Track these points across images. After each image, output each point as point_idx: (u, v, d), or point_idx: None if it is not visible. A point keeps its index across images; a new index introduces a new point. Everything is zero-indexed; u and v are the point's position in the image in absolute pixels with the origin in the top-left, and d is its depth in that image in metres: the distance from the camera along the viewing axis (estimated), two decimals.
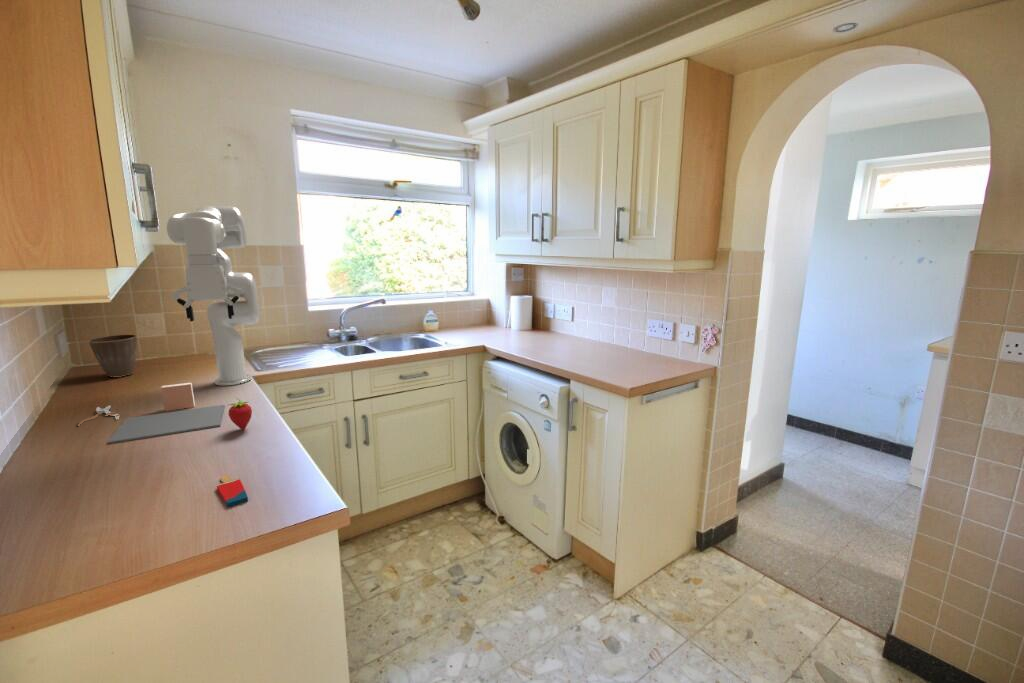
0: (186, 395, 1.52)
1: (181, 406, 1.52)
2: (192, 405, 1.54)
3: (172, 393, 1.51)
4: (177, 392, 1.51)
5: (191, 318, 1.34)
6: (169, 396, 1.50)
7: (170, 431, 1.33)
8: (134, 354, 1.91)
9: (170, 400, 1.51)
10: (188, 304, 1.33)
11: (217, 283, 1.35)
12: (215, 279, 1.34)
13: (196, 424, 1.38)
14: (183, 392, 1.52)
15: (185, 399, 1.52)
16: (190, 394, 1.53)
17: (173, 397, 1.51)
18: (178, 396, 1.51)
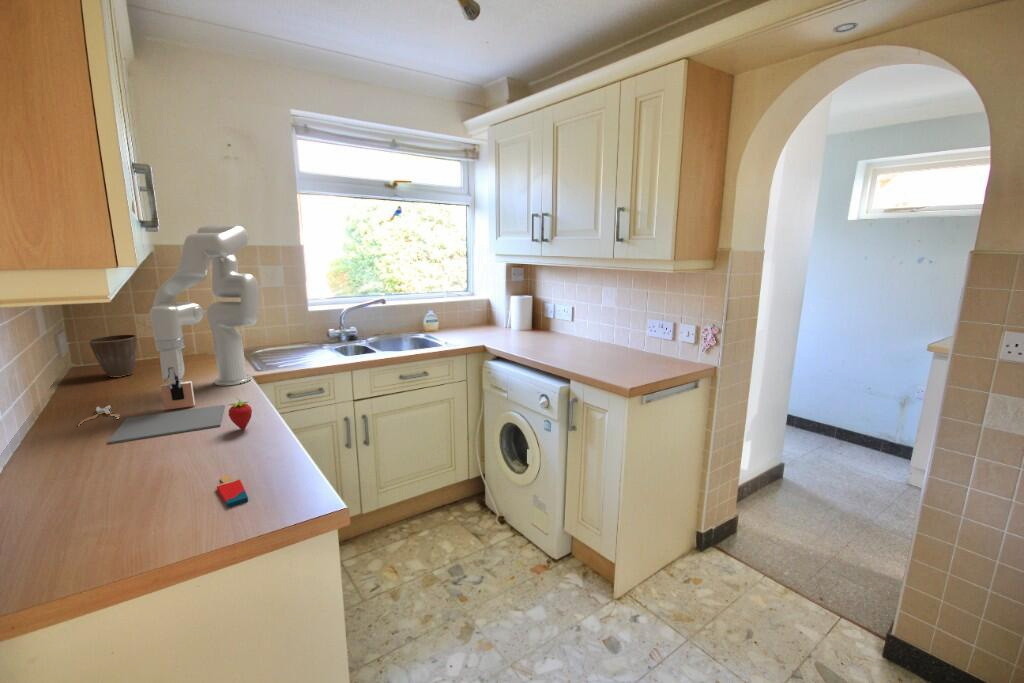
0: (186, 394, 1.52)
1: (181, 405, 1.52)
2: (192, 404, 1.54)
3: None
4: None
5: (183, 396, 1.52)
6: (169, 394, 1.50)
7: (170, 431, 1.33)
8: (134, 354, 1.91)
9: (170, 398, 1.51)
10: (180, 384, 1.51)
11: None
12: (182, 357, 1.53)
13: (196, 424, 1.38)
14: (183, 391, 1.52)
15: (184, 398, 1.53)
16: (190, 393, 1.53)
17: None
18: None
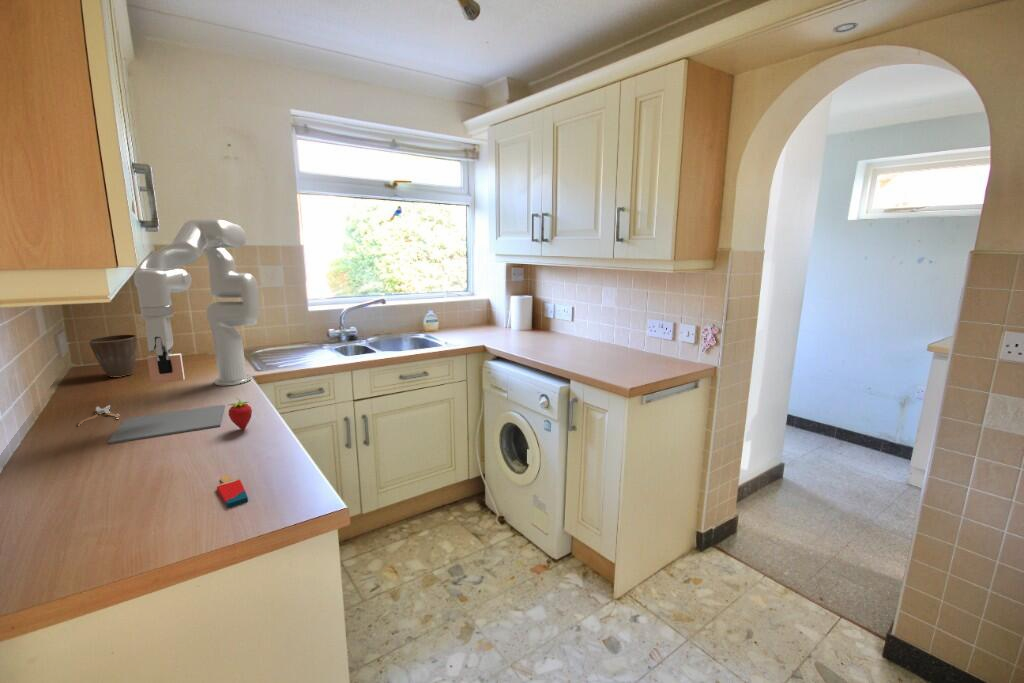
0: (175, 367, 1.40)
1: (169, 379, 1.40)
2: (181, 378, 1.42)
3: None
4: None
5: None
6: (156, 367, 1.38)
7: (170, 431, 1.33)
8: (134, 354, 1.91)
9: (157, 371, 1.39)
10: (168, 356, 1.39)
11: (171, 331, 1.42)
12: None
13: (196, 424, 1.38)
14: (172, 363, 1.40)
15: (173, 371, 1.40)
16: (179, 366, 1.41)
17: None
18: None
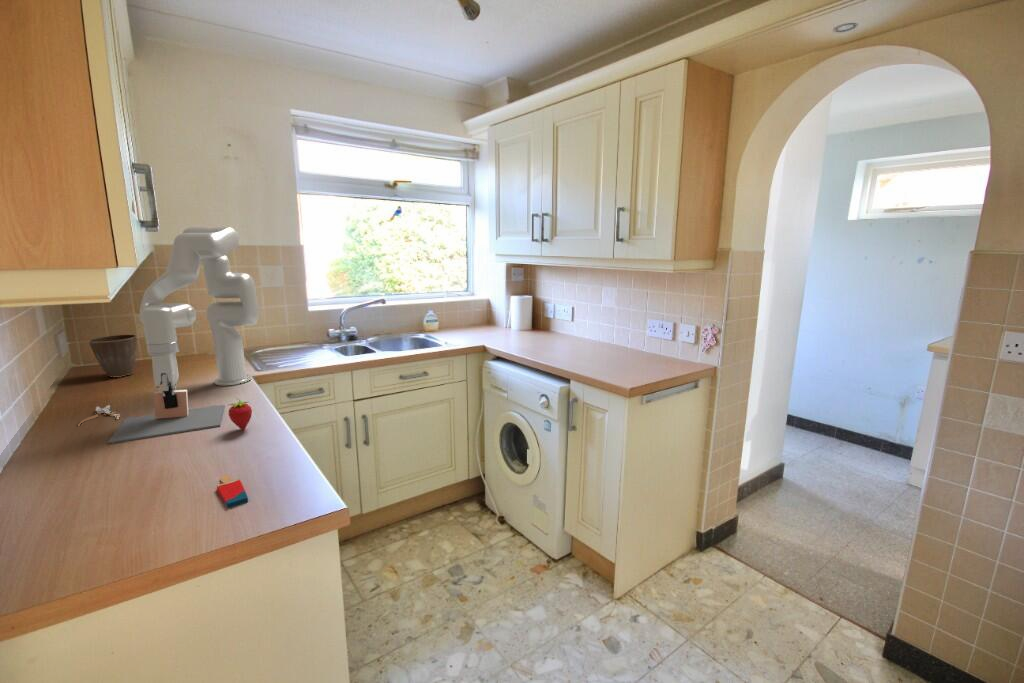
0: (180, 403, 1.43)
1: (173, 414, 1.42)
2: (185, 414, 1.44)
3: None
4: None
5: (177, 404, 1.42)
6: (162, 403, 1.41)
7: (170, 431, 1.33)
8: (134, 354, 1.91)
9: (162, 407, 1.41)
10: (174, 391, 1.41)
11: None
12: (176, 362, 1.43)
13: (196, 424, 1.38)
14: (177, 399, 1.42)
15: (178, 407, 1.43)
16: (184, 402, 1.43)
17: None
18: None
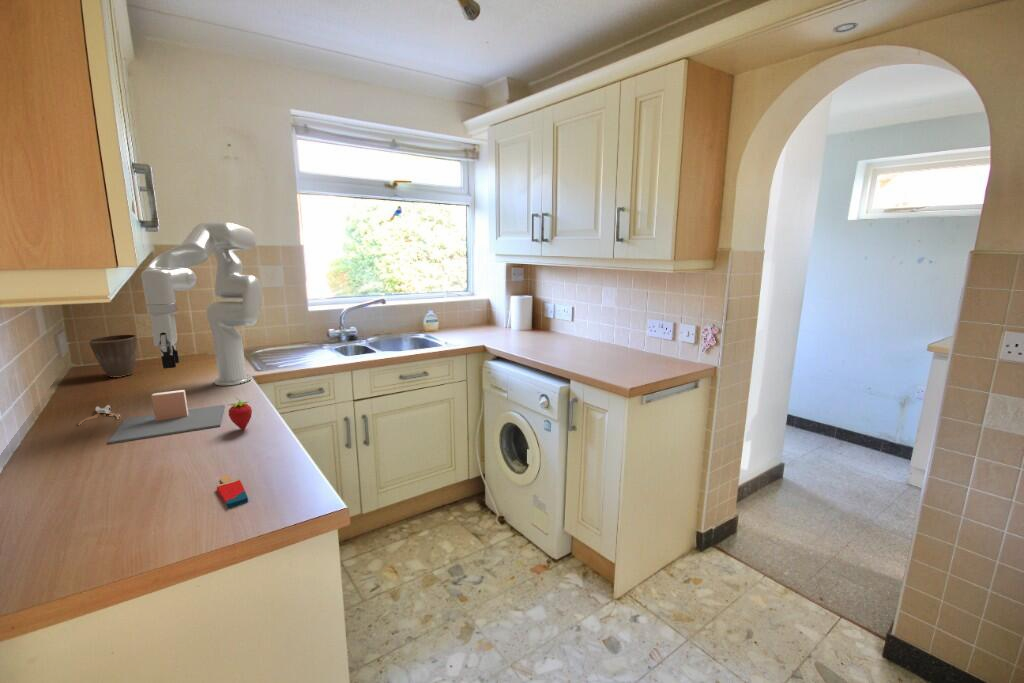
0: (179, 403, 1.43)
1: (173, 415, 1.43)
2: (185, 414, 1.44)
3: (164, 401, 1.41)
4: (169, 400, 1.41)
5: (175, 364, 1.45)
6: (160, 404, 1.40)
7: (170, 431, 1.33)
8: (134, 354, 1.91)
9: (161, 409, 1.41)
10: (172, 351, 1.44)
11: None
12: (175, 323, 1.48)
13: (196, 424, 1.38)
14: (175, 400, 1.42)
15: (177, 408, 1.43)
16: (183, 402, 1.43)
17: (165, 405, 1.41)
18: (170, 404, 1.42)
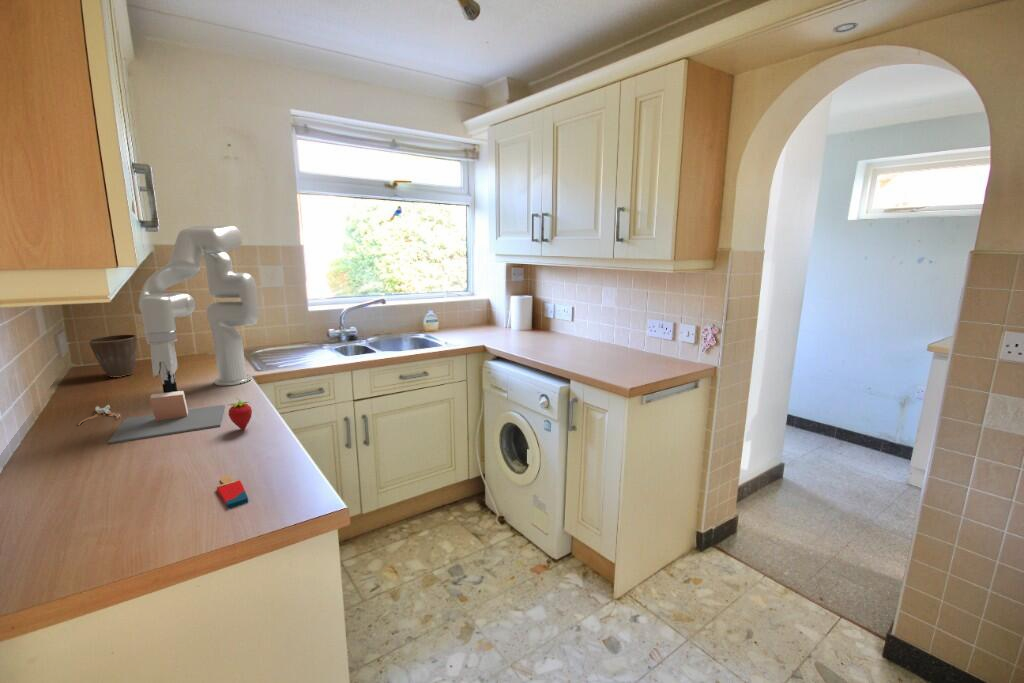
0: (178, 405, 1.42)
1: (173, 416, 1.42)
2: (185, 414, 1.44)
3: (163, 403, 1.39)
4: (168, 402, 1.40)
5: None
6: (160, 406, 1.39)
7: (170, 431, 1.33)
8: (134, 354, 1.91)
9: (161, 410, 1.40)
10: (173, 379, 1.42)
11: (175, 354, 1.44)
12: (175, 351, 1.43)
13: (196, 424, 1.38)
14: (175, 402, 1.41)
15: (177, 409, 1.42)
16: (182, 404, 1.42)
17: (164, 407, 1.40)
18: (169, 406, 1.41)
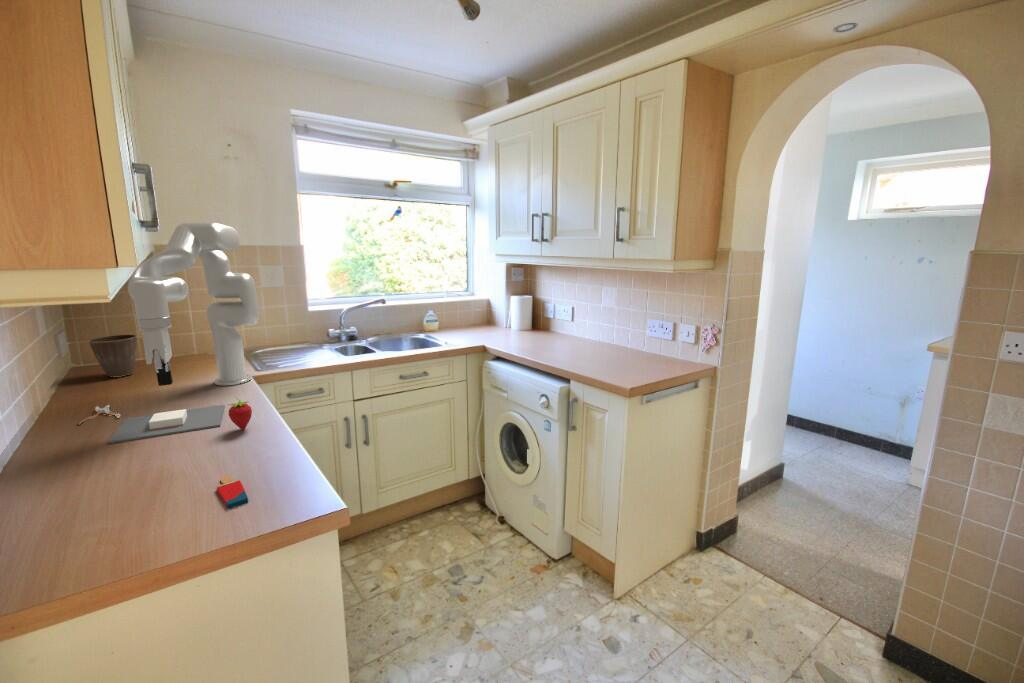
0: None
1: None
2: None
3: None
4: None
5: (171, 380, 1.37)
6: None
7: (170, 431, 1.33)
8: (134, 354, 1.91)
9: None
10: (168, 368, 1.35)
11: None
12: (169, 338, 1.37)
13: (196, 424, 1.38)
14: None
15: None
16: None
17: None
18: None
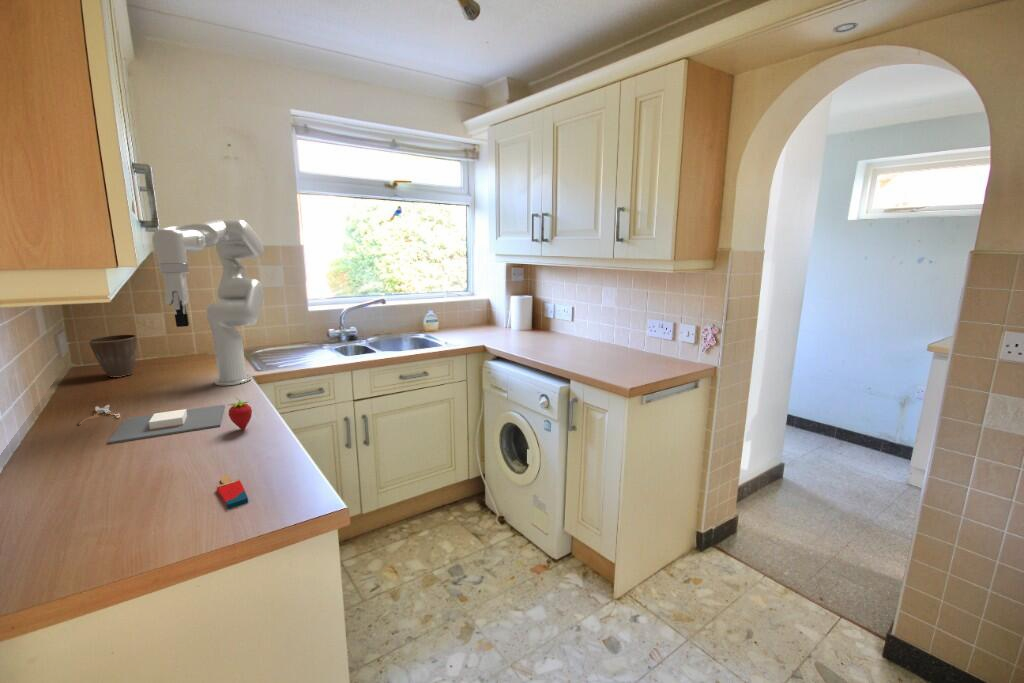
0: None
1: None
2: None
3: None
4: None
5: (188, 323, 1.51)
6: None
7: (170, 431, 1.33)
8: (134, 354, 1.91)
9: None
10: (185, 310, 1.49)
11: None
12: (186, 284, 1.51)
13: (196, 424, 1.38)
14: None
15: None
16: None
17: None
18: None
